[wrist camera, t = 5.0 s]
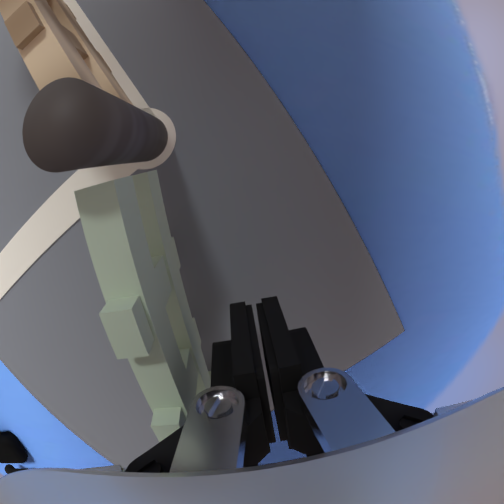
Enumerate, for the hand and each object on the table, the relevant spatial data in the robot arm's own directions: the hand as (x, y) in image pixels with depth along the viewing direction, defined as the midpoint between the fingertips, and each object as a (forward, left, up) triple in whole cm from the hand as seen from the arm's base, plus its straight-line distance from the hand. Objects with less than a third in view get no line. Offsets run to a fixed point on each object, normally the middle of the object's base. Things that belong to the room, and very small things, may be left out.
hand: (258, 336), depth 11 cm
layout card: (+5, -8, -3) cm, 10 cm away
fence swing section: (+2, -2, -2) cm, 4 cm away
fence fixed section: (0, -13, -3) cm, 14 cm away
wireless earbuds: (+24, 0, -3) cm, 24 cm away
